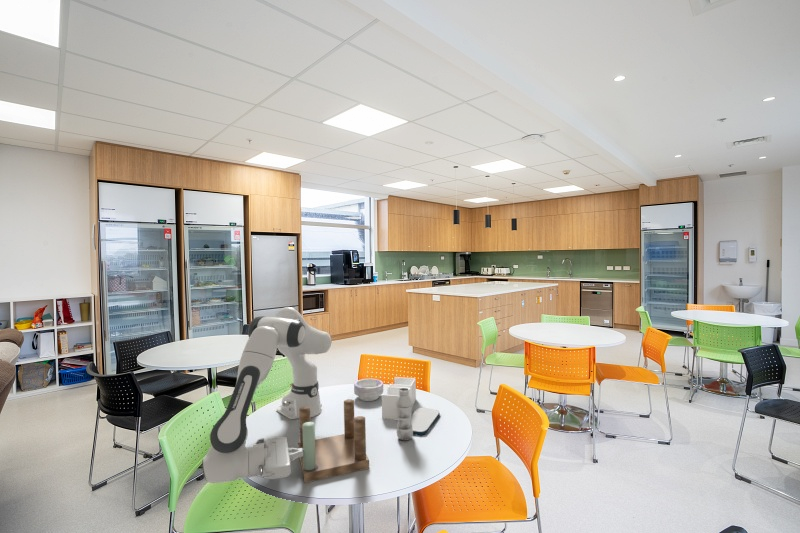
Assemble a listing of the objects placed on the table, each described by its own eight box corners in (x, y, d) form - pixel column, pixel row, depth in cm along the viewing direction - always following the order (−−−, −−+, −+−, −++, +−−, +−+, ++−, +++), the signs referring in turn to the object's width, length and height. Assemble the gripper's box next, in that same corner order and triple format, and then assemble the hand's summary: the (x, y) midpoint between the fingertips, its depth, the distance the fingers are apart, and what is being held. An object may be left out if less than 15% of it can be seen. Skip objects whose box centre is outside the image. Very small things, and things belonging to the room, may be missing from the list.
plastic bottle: (414, 442, 149) (413, 392, 148) (397, 442, 148) (396, 392, 148) (412, 434, 155) (411, 386, 155) (396, 435, 155) (395, 387, 154)
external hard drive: (425, 437, 153) (425, 432, 153) (399, 433, 158) (398, 428, 158) (441, 414, 175) (441, 410, 175) (418, 411, 179) (418, 407, 179)
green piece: (302, 452, 136) (301, 413, 135) (313, 451, 137) (312, 411, 136) (303, 471, 124) (302, 428, 124) (316, 469, 125) (315, 426, 125)
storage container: (405, 420, 169) (405, 396, 168) (382, 418, 171) (381, 394, 171) (415, 399, 193) (415, 378, 193) (395, 398, 196) (394, 377, 195)
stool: (304, 482, 124) (303, 431, 123) (298, 450, 144) (297, 406, 144) (369, 468, 131) (368, 420, 131) (354, 439, 152) (353, 398, 151)
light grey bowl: (389, 397, 196) (389, 382, 196) (367, 406, 185) (367, 390, 185) (370, 390, 207) (370, 376, 207) (348, 398, 196) (348, 383, 196)
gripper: (258, 467, 111) (306, 458, 116) (259, 436, 130) (300, 429, 135) (258, 488, 111) (306, 478, 116) (259, 454, 130) (300, 447, 135)
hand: (303, 451), depth 126 cm, fingers closed, pressing on green piece
